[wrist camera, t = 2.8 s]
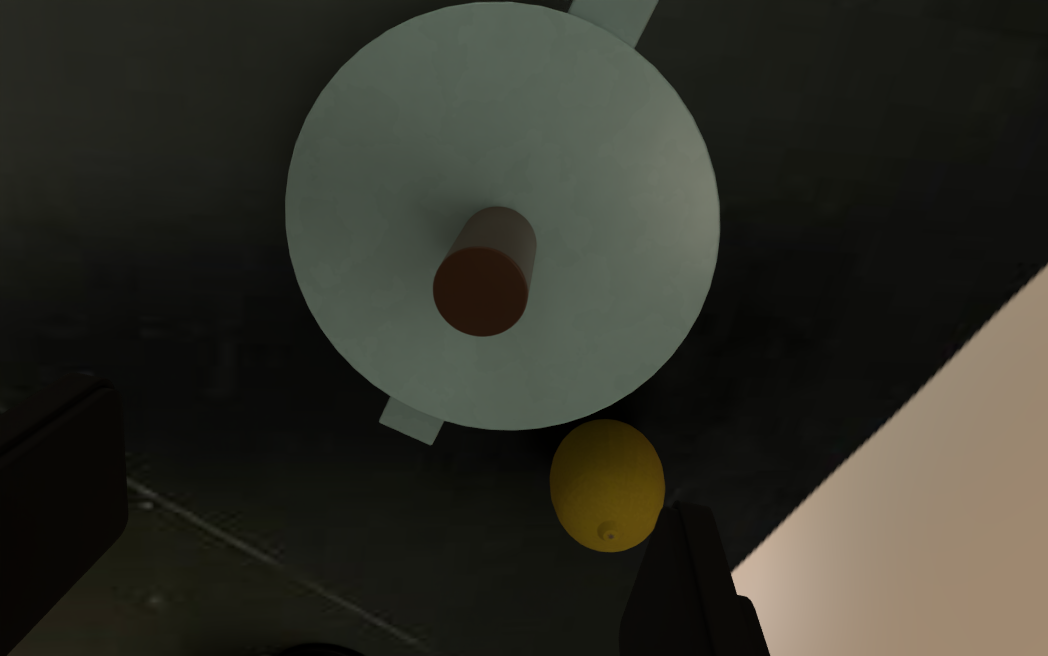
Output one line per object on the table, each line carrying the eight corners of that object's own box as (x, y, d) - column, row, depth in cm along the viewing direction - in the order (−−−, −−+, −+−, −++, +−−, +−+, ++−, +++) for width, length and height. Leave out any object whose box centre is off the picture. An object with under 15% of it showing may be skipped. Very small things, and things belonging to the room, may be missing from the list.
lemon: (669, 409, 34) (696, 505, 27) (632, 490, 36) (648, 600, 29) (570, 379, 34) (570, 468, 27) (539, 463, 36) (530, 567, 29)
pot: (318, 298, 33) (241, 373, 25) (468, -95, 26) (425, -161, 18) (555, 408, 35) (550, 510, 27) (757, 64, 28) (831, 67, 20)
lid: (248, 317, 25) (153, 394, 19) (384, -88, 19) (308, -148, 14) (587, 470, 27) (592, 582, 21) (800, 138, 21) (886, 168, 16)
